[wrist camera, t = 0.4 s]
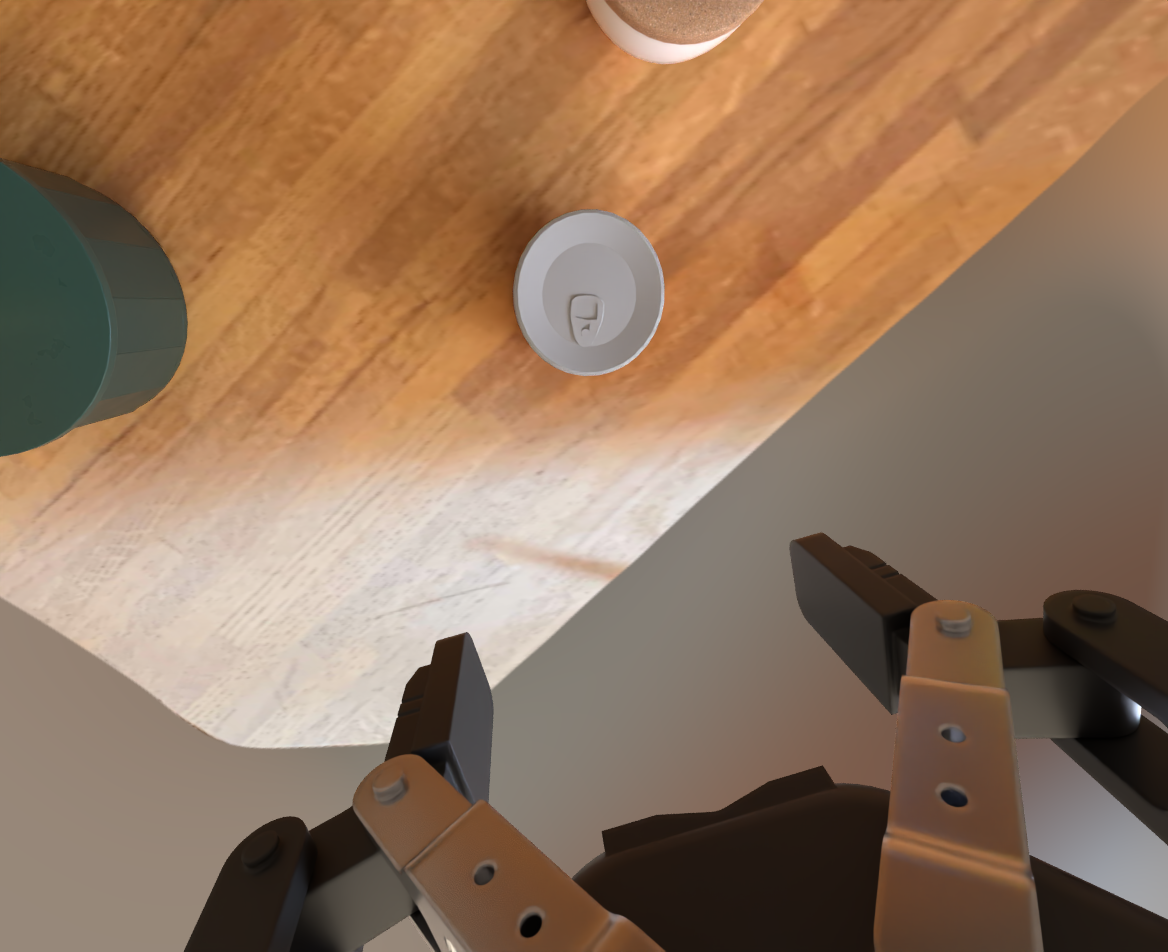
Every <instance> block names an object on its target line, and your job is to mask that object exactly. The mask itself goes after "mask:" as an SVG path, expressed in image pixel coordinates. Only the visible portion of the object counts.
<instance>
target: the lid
mask: <svg viewBox="0 0 1168 952" xmlns="http://www.w3.org/2000/svg"><path fill="white" fill-rule="evenodd" d="M117 336H118V327H117V320H116V312H115V306H114V302H113V299H112V295H111V291H110V287H109V285H108V282H107V280H106V277H105V275H104V272H103V270H102V267H101V265H100V263H99V261H98V259H97V257H96V256H95V254H94V252H93V250H92V248H91V246H90V245H89V243H88V242H87V240H86V239H85V237H84V236H83V234H82V233H81V232H80V230H79V229H78V227H77V226H76V224H75V223H74V222H73V221H72V220H71V218H70V217H69V216H68V215H67V214H66V213H65V211H64V210H63V209H62V208H61V207H60V206H59V204H58V203H56V202H55V201H54V200H53V199H52V198H51V197H50V196H49V195H48V194H47V193H46V192H45V191H44V190H43V189H42V188H41V187H40V186H39V185H37V184H36V183H35V182H33V181H32V180H31V179H30V178H28V177H27V176H26V175H24V174H23V173H22V172H20V171H19V170H18V169H16V168H15V167H13V166H12V165H10V164H8V163H7V162H5V161H4V160H2V159H1V158H0V457H1V456H7V455H12V454H18V453H22V452H25V451H28V450H31V449H34V448H38V447H41V446H44V445H46V444H48V443H50V442H52V441H54V440H56V439H58V438H61V437H62V436H64V435H65V434H67V433H68V432H70V431H71V430H72V429H74V428H75V427H77V426H78V425H79V424H80V423H81V422H82V421H83V420H84V419H85V418H86V417H87V416H88V415H89V414H90V413H91V412H92V410H93V409H94V408H95V406H96V405H97V404H98V402H99V401H100V400H101V398H102V396H103V394H104V392H105V390H106V388H107V386H108V384H109V381H110V378H111V375H112V372H113V369H114V366H115V359H116V353H117Z"/></svg>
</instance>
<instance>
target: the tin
mask: <svg viewBox="0 0 1168 952" xmlns="http://www.w3.org/2000/svg"><path fill="white" fill-rule="evenodd" d="M1 159H2V158H1ZM2 160H4V161H5V162H7V163H8V164H10V165H12V166H13V167H15V168H16V169H18V170H19V171H20V172H22V173H23V174H24V175H26V176H27V177H28V178H30V179H31V180H32V181H33V182H35V183H36V184H37V185H39V186H40V187H41V188H42V189H43V190H44V191H45V192H46V193H47V194H48V195H49V196H50V197H51V198H52V199H53V200H54V201H55V202H56V203H58V204H59V206H60V207H61V208H62V209H63V210H64V211H65V213H66V214H67V215H68V216H69V217H70V218H71V220H72V221H73V222H74V223H75V224H76V226H77V227H78V229H79V230H80V232H81V233H82V234H83V236H84V237H85V239H86V240H87V242H88V243H89V245H90V246H91V248H92V250H93V252H94V254H95V256H96V257H97V259H98V261H99V263H100V265H101V267H102V270H103V272H104V275H105V277H106V280H107V282H108V285H109V287H110V291H111V295H112V299H113V302H114V306H115V312H116V320H117V327H118V336H117V353H116V359H115V366H114V369H113V372H112V375H111V378H110V381H109V384H108V386H107V388H106V390H105V392H104V394H103V396H102V398H101V400H100V401H99V402H98V404H97V405H96V406H95V408H94V409H93V410H92V412H91V413H90V414H89V415H88V416H87V417H86V418H85V419H84V420H83V421H82V422H81V423H80V424H79V425H78V426H77V427H81V426H84V425H88V424H91V423H95V422H98V421H102V420H105V419H109V418H113V417H116V416H120V415H123V414H127V413H130V412H133V411H134V410H136V409H137V408H138V407H140V406H142V405H144V404H145V403H147V402H148V401H150V400H151V399H152V398H154V397H155V396H156V395H157V394H158V393H159V392H160V391H161V390H162V389H164V388H165V386H166V385H167V384H168V382H169V381H170V380H171V378H172V377H173V375H174V374H175V372H176V370H177V368H178V366H179V364H180V361H181V359H182V356H183V353H184V349H185V344H186V339H187V313H186V305H185V300H184V296H183V292H182V289H181V286H180V283H179V280H178V278H177V275H176V273H175V271H174V269H173V267H172V265H171V263H170V261H169V259H168V258H167V256H166V255H165V253H164V252H163V250H162V249H161V247H160V245H159V244H158V243H157V242H156V240H155V239H154V238H153V237H152V235H151V234H150V233H149V232H148V231H147V229H146V228H145V227H144V226H143V225H141V224H140V223H139V222H138V221H137V220H136V219H135V218H134V217H133V216H132V215H131V214H130V213H128V212H127V211H126V210H125V209H123V208H122V207H121V206H120V205H118V204H117V203H115V202H114V201H112V200H111V199H109V198H107V197H106V196H104V195H103V194H101V193H99V192H97V191H95V190H93V189H91V188H89V187H87V186H85V185H82V184H80V183H78V182H77V181H75V180H73V179H71V178H69V177H66V176H62V175H59V174H55V173H52V172H48V171H45V170H41V169H38V168H34V167H31V166H27V165H23V164H20V163H16V162H13V161H9V160H6V159H2ZM77 427H75V428H77Z"/></svg>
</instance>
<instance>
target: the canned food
mask: <svg viewBox="0 0 1168 952" xmlns="http://www.w3.org/2000/svg"><path fill="white" fill-rule="evenodd" d="M663 305H664V280H663V273H662V269H661V266H660V263H659V260H658V257H657V254H656V253H655V251H654V249H653V247H652V245H651V244H650V242H649V240H648V239H647V238H646V237H645V236H644V235H643V233H642V232H641V231H640V230H639V229H638V228H637V227H635V226H634V225H633V224H631V223H630V222H629V221H628V220H626V219H624V218H622V217H620V216H618V215H616V214H614V213H611V212H606V211H602V210H597V209H596V210H578V211H574V212H570V213H566V214H563V215H561V216H559V217H557V218H555V219H553V220H551V221H550V222H549V223H547V224H546V225H545V226H544V227H542V228H541V229H540V230H539V231H538V232H537V233H536V234H535V235H534V237H533V238H532V239H531V240H530V241H529V242H528V244H527V246H526V248H525V250H524V251H523V253H522V255H521V257H520V260H519V263H518V266H517V269H516V272H515V276H514V284H513V306H514V310H515V315H516V319H517V322H518V325H519V327H520V329H521V332H522V334H523V336H524V337H525V339H526V340H527V342H528V343H529V345H530V346H531V348H532V349H533V350H534V351H535V352H536V353H537V354H538V355H539V356H540V357H541V358H542V359H543V360H544V361H546V362H547V363H549V364H550V365H552V366H553V367H555V368H557V369H559V370H562V371H564V372H567V373H570V374H576V375H582V376H589V375H601V374H605V373H609V372H613V371H615V370H617V369H619V368H621V367H623V366H625V365H626V364H628V363H629V362H630V361H632V360H633V359H634V358H636V357H637V356H638V355H639V354H640V353H641V352H642V350H643V349H644V348H645V347H646V346H647V345H648V343H649V341H650V340H651V338H652V337H653V335H654V333H655V331H656V329H657V326H658V324H659V321H660V319H661V315H662V310H663Z"/></svg>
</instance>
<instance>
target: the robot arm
mask: <svg viewBox="0 0 1168 952" xmlns="http://www.w3.org/2000/svg"><path fill="white" fill-rule="evenodd" d="M790 556H791V563H792V569H793V575H794V583H795V590H796V596H797V600H798V604H799V606H800V609H801V611H802V613H803V615H804V617H805V619H806V620H807V621H808V623H809V624H810V625H811V626H812V627H813V628H814V629H815V630H816V631H817V633H818V634H819V635H820V636H821V637H822V638H823V639H824V640H825V641H826V643H827V644H828V645H829V646H830V647H831V648H832V649H833V650H834V651H835V653H836V654H837V655H838V656H839V657H840V658H841V659H842V660H843V661H844V663H845V664H846V665H847V666H848V667H849V668H850V669H851V670H852V671H853V673H855V675H856V676H857V677H858V678H859V679H860V680H861V681H862V683H863V684H864V685H865V686H866V687H867V688H868V689H869V690H870V691H871V693H872V694H873V695H874V696H875V697H876V698H877V699H878V700H879V701H880V702H881V704H882V705H883V706H884V707H885V708H886V709H887V710H888V711H889V712H890V714H891V715H892V714H896V713H898V717H897V727H896V737H895V748H894V760H893V770H892V781H891V791H888V790H884V789H880V788H876V787H872V786H865V785H859V784H846V783H842V784H841V783H840V784H834V782H833V780H832V779H831V777H830V776H829V774H828V773H827V771H826V770H825V768H824V767H823V766H820V767H816V768H813V769H809V770H806V771H803V772H799V773H796V774H793V775H790V776H786V777H782V778H779V779H776V780H773V781H769V782H767V783H766V784H764V785H762V786H761V787H759V788H757V789H756V790H754V791H752V792H750V793H749V794H747V795H746V796H744V797H742V798H740V799H739V800H737V801H735V802H734V803H732V804H730V805H729V806H727V807H725V808H724V809H722V810H719V811H716V812H705V813H684V814H666V815H655V816H651V817H648V818H645V819H641V820H638V821H635V822H631V823H628V824H625V825H621V826H618V827H615V828H611V829H608V830H604V831H602V836H603V842H604V848H605V852H604V853H602V854H600V855H599V856H597V857H596V858H594V859H593V860H592V861H590V862H589V863H588V864H586V865H585V866H584V867H583V868H582V869H581V870H580V871H579V872H578V873H577V874H576V875H574V876H573V878H572V879H571V878H570V877H569V876H568V875H567V874H566V873H565V872H563V871H562V870H561V869H560V868H559V867H558V866H557V865H556V864H555V863H553V862H552V861H551V860H550V859H549V858H548V857H547V856H546V855H545V854H543V852H541V851H540V850H539V849H538V848H537V847H536V846H535V845H534V844H533V843H532V842H530V841H529V840H528V839H527V838H526V837H525V836H524V835H523V834H522V833H520V832H519V831H518V830H517V829H516V828H515V827H514V826H513V825H512V824H511V823H509V822H508V821H507V820H506V819H505V818H504V817H503V816H502V815H501V814H499V813H498V812H497V811H496V810H495V809H494V808H493V807H492V806H491V805H490V804H488V801H489V783H490V766H491V765H490V764H491V747H492V729H493V700H492V695H491V690H490V687H489V683H488V681H487V678H486V675H485V673H484V670H483V667H482V664H481V662H480V659H479V656H478V654H477V651H476V648H475V646H474V643H473V640H472V638H471V636H470V634H469V633H468V632H466V633H462V634H459V635H455V636H452V637H448V638H445V639H441V640H438V641H437V642H436V644H435V648H434V652H433V656H432V661H431V664H430V665H427V666H423V667H420V668H418V670H417V671H416V672H415V674H414V675H413V676H412V678H411V679H410V680H409V681H408V683H407V684H406V687H405V691H404V694H403V698H402V704H401V705H400V708H399V712H398V718H397V719H396V722H395V726H394V729H393V733H392V736H391V740H390V743H389V747H388V750H387V754H386V757H385V761H384V763H382V764H380V765H379V766H377V767H376V768H375V769H374V770H372V771H371V772H370V773H369V774H368V775H367V776H366V777H365V778H364V779H363V781H362V782H361V783H360V785H359V786H358V788H357V790H356V792H355V794H354V798H353V806H351V807H350V808H349V809H347V810H345V811H344V812H342V813H340V814H339V815H337V816H335V817H333V818H331V819H329V820H328V821H326V822H324V823H322V824H320V825H319V826H317V827H315V828H313V829H311V830H310V831H308V829H307V827H306V825H305V824H304V822H303V821H302V820H301V819H300V818H297V817H291V816H289V817H283V818H279V819H276V820H274V821H271V822H269V823H267V824H265V825H263V826H262V827H260V828H258V829H257V830H255V831H254V832H253V833H251V834H250V835H249V836H248V837H247V838H245V839H244V840H243V841H242V842H241V843H240V844H239V845H238V846H237V847H236V848H235V849H234V851H233V852H232V853H231V855H230V856H229V857H228V859H227V860H226V862H225V864H224V866H223V867H222V870H221V872H220V874H219V876H218V878H217V881H216V883H215V885H214V887H213V889H212V892H211V894H210V896H209V898H208V900H207V902H206V904H205V907H204V909H203V911H202V913H201V915H200V918H199V920H198V922H197V924H196V926H195V928H194V930H193V933H192V935H191V937H190V939H189V941H188V943H187V946H186V948H185V950H184V952H362V951H363V946H364V944H366V943H367V942H369V941H370V940H372V939H374V938H375V937H377V936H378V935H380V934H381V933H383V932H384V931H386V930H388V929H389V928H390V927H392V926H394V925H395V924H397V923H398V922H400V921H402V920H403V919H405V918H406V917H408V918H409V920H410V921H411V922H412V924H413V925H414V927H415V928H416V930H417V931H418V932H419V934H420V935H421V937H422V938H423V940H424V941H425V943H426V944H427V946H428V947H429V949H430V950H431V951H432V952H1168V919H1166V918H1164V917H1161V916H1159V915H1157V914H1155V913H1153V912H1151V911H1148V910H1146V909H1144V908H1142V907H1140V906H1138V905H1136V904H1134V903H1131V902H1129V901H1127V900H1125V899H1123V898H1121V897H1119V896H1116V895H1114V894H1112V893H1110V892H1108V891H1106V890H1104V889H1101V888H1099V887H1097V886H1095V885H1093V884H1091V883H1089V882H1086V881H1084V880H1082V879H1080V878H1078V877H1076V876H1074V875H1072V874H1070V873H1067V872H1065V871H1063V870H1061V869H1059V868H1057V867H1055V866H1052V865H1050V864H1048V863H1046V862H1044V861H1042V860H1039V859H1038V858H1035V857H1033V856H1031V855H1029V850H1028V841H1027V833H1026V825H1025V817H1024V809H1023V801H1022V792H1021V784H1020V776H1019V768H1018V760H1017V752H1016V743H1015V739H1032V738H1050V739H1051V740H1052V741H1053V742H1054V743H1055V744H1056V745H1057V746H1058V747H1060V748H1061V749H1062V750H1063V751H1064V752H1065V753H1066V754H1067V755H1069V756H1070V757H1071V758H1072V759H1073V760H1074V761H1075V762H1076V763H1077V764H1078V765H1079V766H1081V767H1082V768H1083V769H1084V770H1085V771H1086V772H1087V773H1088V774H1089V775H1091V776H1092V777H1093V778H1094V779H1095V780H1096V781H1097V782H1098V783H1099V784H1100V785H1102V786H1103V787H1104V788H1105V789H1106V790H1107V791H1108V792H1109V793H1111V794H1112V795H1113V796H1114V797H1115V798H1116V799H1117V800H1118V801H1119V802H1120V803H1122V804H1123V805H1124V806H1125V807H1126V808H1127V809H1128V810H1129V811H1130V812H1131V813H1133V814H1134V815H1135V816H1136V817H1137V818H1138V819H1139V820H1141V822H1143V823H1144V824H1145V825H1146V826H1147V827H1148V828H1149V829H1150V830H1151V831H1152V832H1154V833H1155V834H1156V835H1157V836H1158V837H1159V838H1160V839H1161V840H1163V841H1164V842H1165V843H1166V844H1167V845H1168V734H1167V733H1166V732H1165V731H1163V730H1162V729H1161V728H1159V727H1158V726H1157V725H1155V724H1154V723H1152V722H1151V721H1149V720H1148V719H1147V718H1145V717H1144V716H1143V715H1141V707H1142V708H1143V709H1145V710H1147V711H1148V712H1149V713H1151V714H1152V715H1153V716H1155V717H1156V718H1158V719H1159V720H1160V721H1161V722H1162V723H1163V724H1164V725H1165V726H1166V727H1167V728H1168V621H1166V620H1164V619H1162V618H1160V617H1158V616H1156V615H1155V614H1153V613H1151V612H1149V611H1147V610H1145V609H1144V608H1142V607H1140V606H1138V605H1136V604H1134V603H1132V602H1130V601H1128V600H1126V599H1124V598H1121V597H1118V596H1115V595H1112V594H1108V593H1103V592H1098V591H1089V590H1071V591H1063V592H1059V593H1056V594H1054V595H1051V596H1050V597H1048V598H1047V599H1046V600H1045V602H1044V605H1043V618H1033V619H1017V620H996V619H995V617H994V616H993V615H992V614H991V613H990V612H988V611H987V610H985V609H983V608H981V607H979V606H976V605H974V604H971V603H967V602H962V601H955V600H937V599H936V598H934V597H933V596H931V595H930V594H929V593H927V592H926V591H924V590H923V589H922V588H920V587H919V586H917V585H916V584H915V583H913V582H912V581H910V580H909V579H908V578H906V577H905V576H903V575H902V574H899V573H898V571H896V570H895V569H894V568H892V567H891V566H890V565H886V563H885V562H884V561H883V560H881V559H880V558H878V557H877V556H876V555H874V554H873V553H871V552H869V551H865V550H862V549H859V548H856V547H853V546H847V547H841V546H840V545H839V544H837V543H836V542H834V541H833V540H832V539H831V538H830V537H828V536H827V535H826V534H824V533H817V534H813V535H810V536H807V537H803V538H800V539H796V540H792V541H791V542H790Z"/></svg>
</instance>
